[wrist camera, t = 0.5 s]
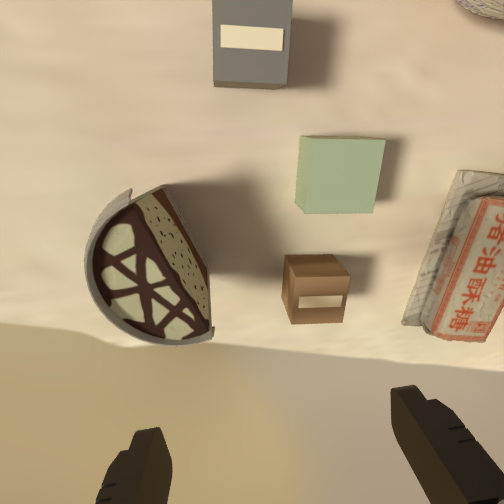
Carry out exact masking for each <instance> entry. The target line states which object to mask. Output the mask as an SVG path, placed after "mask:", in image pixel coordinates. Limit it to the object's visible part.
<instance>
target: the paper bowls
mask: <svg viewBox="0 0 504 504" xmlns="http://www.w3.org/2000/svg"><path fill="white" fill-rule="evenodd" d="M455 1H456V2H458V4H459V5H461V6H463V7H464V8H465V9H467V10H469V11H471V12H472V13H478V14H479V15H481V16H485V17H488V18H493V19H504V0H455Z"/></svg>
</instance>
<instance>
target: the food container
mask: <svg viewBox="0 0 504 504" xmlns="http://www.w3.org/2000/svg"><path fill="white" fill-rule="evenodd" d="M132 191H133V190H132V188H130V189H129V190H127V191H125V192H124V193H122V194H120V195H119V196H118V197H116V198H115V199H114V200H113V201H112V202H110V203H109V204H108V205H107V207H106V208H105V209H104V210H103V211H102V213H101V214H100V215H99V217H98V219H97V220H96V222H95V224H94V226H93V228H92V231H91V233H90V236H89V239H88V242H87V245H86V249H85V257H84V267H85V276H86V281H87V285H88V289H89V291H90V294H91V296H92V298H93V300H94V302H95V304H96V305H97V307H98V308H99V310H100V311H101V312H102V313H103V315H104V316H105V317H106V318H107V319H108V320H109V321H110V322H111V323H113V324H114V325H115V326H116V327H117V328H119V329H120V330H122V331H123V332H125V333H127V334H128V335H130V336H132V337H135V338H137V339H139V340H142V341H145V342H148V343H152V344H157V345H162V346H177V347H178V346H190V345H195V344H200V343H203V342H206V341H209V340H212V337H214V331H215V327H212V322H211V301H210V280H209V268H208V266H207V264H206V263H205V261H204V259H203V257H202V255H201V254H200V252H199V250H198V248H197V246H196V244H195V243H194V241H193V239H192V237H191V235H190V234H189V232H188V230H187V228H186V226H185V225H184V223H183V221H182V219H181V217H180V216H179V214H178V212H177V210H176V208H175V206H174V205H173V203H172V201H171V199H170V197H169V196H168V194H167V192H166V190H165V188H164V187H163V185H161V186H159V187H157V188H155V189H153V190H151V191H149V192H147V193H145V194H143V195H141V196H139V197H137V198H135V199H133V200H131V199H130V197H131V194H132Z"/></svg>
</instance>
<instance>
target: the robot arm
mask: <svg viewBox="0 0 504 504" xmlns="http://www.w3.org/2000/svg"><path fill="white" fill-rule="evenodd" d="M391 423H392V428H393V431H394V434H395V437H396V439H397V442H398V444H399V445H400V447H401V449H402V451H403V453H404V454H405V457H406V458H407V460H408V462H409V464H410V466H411V468H412V470H413V471H414V473H415V475H416V477H417V479H418V481H419V483H420V484H421V486H422V488H423V490H424V492H425V494H426V496H427V497H428V499H429V501H430V503H431V504H504V474H503V472H502V471H501V470H500V469H499V467H498V466H497V465H496V463H495V462H494V461H493V460H492V458H490V456H489V455H488V454H487V452H486V451H485V450H484V449H483V447H482V446H481V445H480V444H479V442H477V441H476V440H475V438H474V436H473V435H472V434H471V432H470V431H469V430H468V429H466V428H465V425H464V424H463V423H462V421H461V420H460V419H459V418H458V416H457V415H456V414H455V413H454V411H453V410H451V409H450V408H448V407H447V406H446V405H444V404H443V403H441V402H440V401H438V400H437V399H432V400H427V399H426V398H425V397H424V395H423V394H422V393H421V391H420V390H419V389H418V388H417V387H416V386H415V385H409V386H403V387H397V388H392V389H391ZM171 480H172V460H171V456H170V453H169V450H168V448H167V445H166V442H165V439H164V437H163V434H162V431H161V429H160V428H159V427H156V428H150V429H144V430H139V431H136V432H135V434H134V436H133V439H132V442H131V444H130V447H129V450H124V451H120V453H119V454H118V456H117V457H116V458H115V459H114V461H113V462H112V464H111V465H110V466H109V468H108V470H107V473H106V475H105V478H104V480H103V483H102V488H101V489H100V490H99V493H98V496H97V498H96V504H167V501H168V495H169V490H170V485H171Z"/></svg>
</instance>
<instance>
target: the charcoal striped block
mask: <svg viewBox="0 0 504 504" xmlns="http://www.w3.org/2000/svg"><path fill="white" fill-rule="evenodd" d="M292 3H293V0H212V11H213V82H214V87H230V88H251V89H272V90H275V89H277V88H279V87H282V86H284V85H286V84H287V75H288V61H289V46H290V32H291V17H292Z"/></svg>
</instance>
